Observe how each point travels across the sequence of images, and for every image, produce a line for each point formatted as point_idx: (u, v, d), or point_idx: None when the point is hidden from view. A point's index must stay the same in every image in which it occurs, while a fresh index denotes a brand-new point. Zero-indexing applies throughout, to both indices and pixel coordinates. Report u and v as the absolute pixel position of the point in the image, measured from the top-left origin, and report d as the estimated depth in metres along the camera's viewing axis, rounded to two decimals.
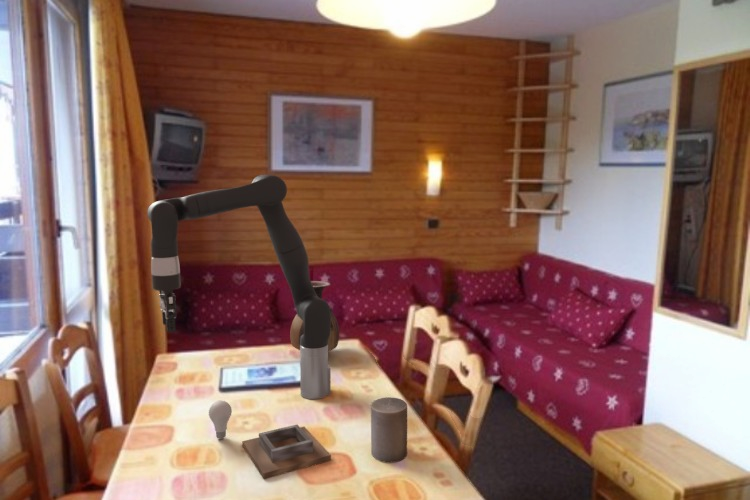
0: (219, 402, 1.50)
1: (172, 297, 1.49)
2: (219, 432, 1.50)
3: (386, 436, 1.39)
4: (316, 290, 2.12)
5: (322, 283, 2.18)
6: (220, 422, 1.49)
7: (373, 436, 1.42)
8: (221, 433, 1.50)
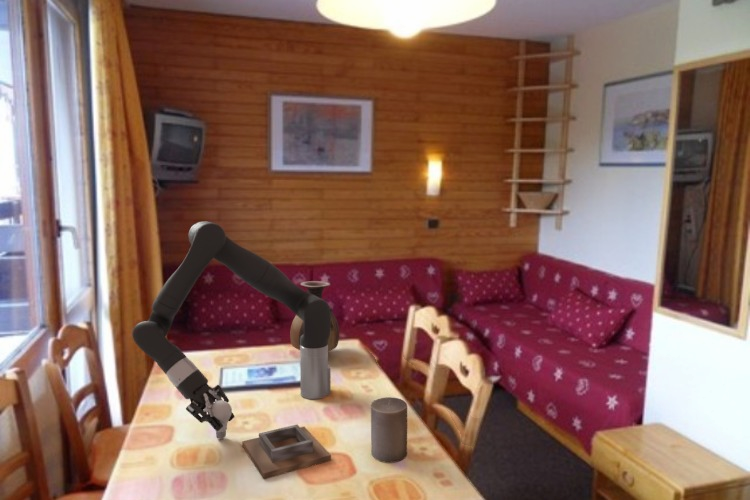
0: (219, 402, 1.50)
1: (190, 405, 1.45)
2: (219, 432, 1.50)
3: (386, 436, 1.39)
4: (316, 290, 2.12)
5: (322, 283, 2.18)
6: None
7: (373, 436, 1.42)
8: (221, 433, 1.50)
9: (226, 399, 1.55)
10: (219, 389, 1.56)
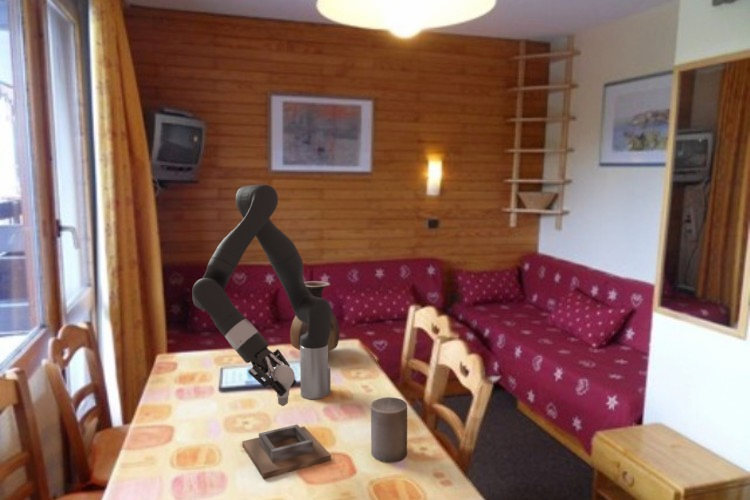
0: (282, 366, 1.41)
1: (252, 368, 1.36)
2: (282, 398, 1.41)
3: (386, 437, 1.39)
4: (316, 290, 2.12)
5: (322, 283, 2.18)
6: None
7: (373, 436, 1.42)
8: (283, 399, 1.41)
9: (287, 364, 1.46)
10: (279, 354, 1.47)
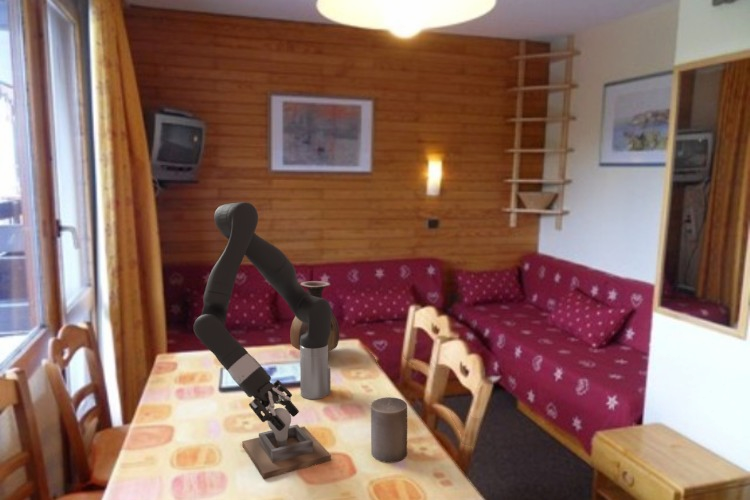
0: (277, 410, 1.42)
1: (253, 401, 1.37)
2: (281, 441, 1.42)
3: (386, 436, 1.39)
4: (316, 290, 2.12)
5: (322, 283, 2.18)
6: (281, 431, 1.41)
7: (373, 436, 1.42)
8: (283, 442, 1.42)
9: (289, 394, 1.49)
10: (280, 384, 1.49)
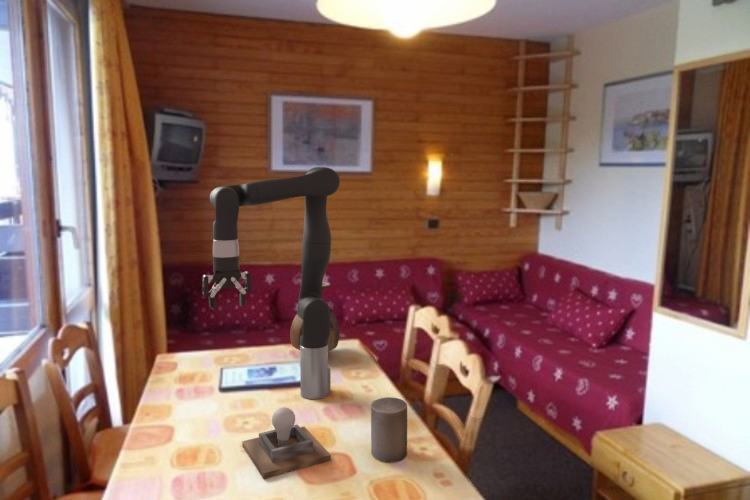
0: (283, 409, 1.42)
1: (204, 276, 1.59)
2: (283, 441, 1.42)
3: (386, 436, 1.39)
4: None
5: (322, 283, 2.18)
6: (285, 430, 1.41)
7: (373, 436, 1.42)
8: (284, 442, 1.42)
9: (249, 289, 1.65)
10: (247, 277, 1.65)
